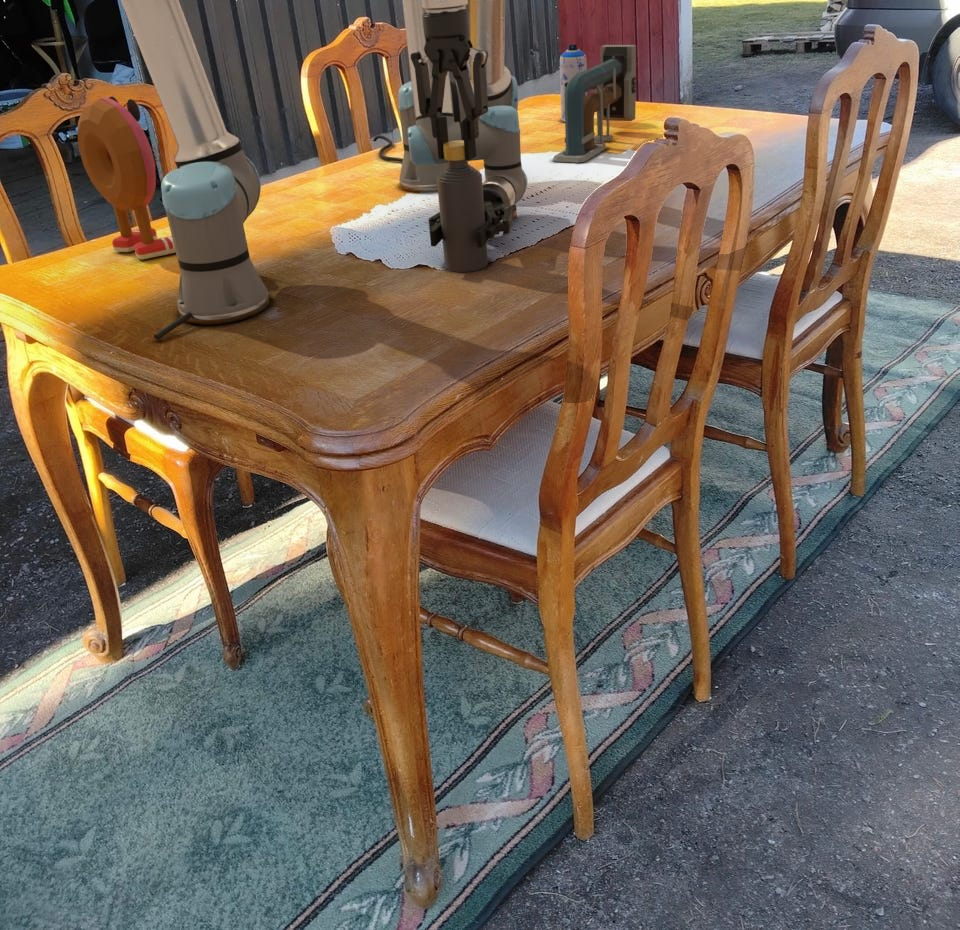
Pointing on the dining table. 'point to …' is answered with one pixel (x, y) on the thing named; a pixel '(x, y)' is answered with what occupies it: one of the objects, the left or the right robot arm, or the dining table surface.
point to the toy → (122, 171)
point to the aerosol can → (570, 70)
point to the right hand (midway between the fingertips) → (455, 239)
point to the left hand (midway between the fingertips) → (457, 157)
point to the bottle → (461, 216)
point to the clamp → (599, 102)
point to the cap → (454, 150)
